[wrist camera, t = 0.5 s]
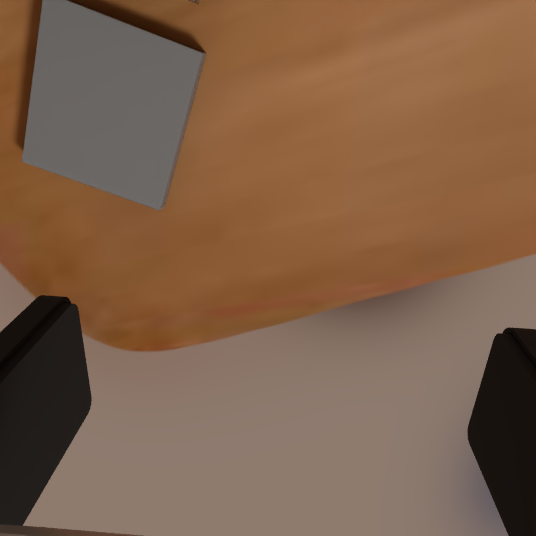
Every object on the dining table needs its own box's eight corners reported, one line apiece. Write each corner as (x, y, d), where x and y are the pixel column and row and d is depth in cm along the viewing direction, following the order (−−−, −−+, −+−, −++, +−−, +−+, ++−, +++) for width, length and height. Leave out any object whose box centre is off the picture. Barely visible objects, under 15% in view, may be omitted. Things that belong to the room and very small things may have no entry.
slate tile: (53, -6, 35) (43, -9, 34) (206, 53, 36) (202, 53, 35) (31, 157, 40) (21, 161, 39) (164, 205, 41) (160, 210, 40)
